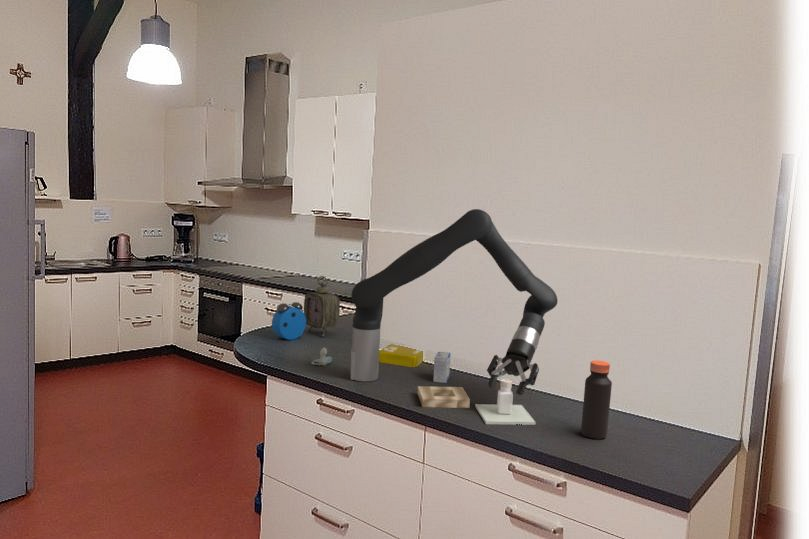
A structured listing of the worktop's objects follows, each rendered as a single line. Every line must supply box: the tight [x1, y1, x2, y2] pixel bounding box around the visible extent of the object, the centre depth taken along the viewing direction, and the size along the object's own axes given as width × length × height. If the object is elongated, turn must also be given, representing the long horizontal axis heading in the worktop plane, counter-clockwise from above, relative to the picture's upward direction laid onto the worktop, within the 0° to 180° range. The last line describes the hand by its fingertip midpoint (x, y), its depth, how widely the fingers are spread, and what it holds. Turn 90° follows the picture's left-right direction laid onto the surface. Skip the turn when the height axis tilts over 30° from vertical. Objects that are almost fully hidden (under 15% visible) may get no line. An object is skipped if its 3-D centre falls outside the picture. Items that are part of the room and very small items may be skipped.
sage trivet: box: [475, 403, 537, 426], centre depth 184 cm, size 14×14×1 cm
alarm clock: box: [271, 301, 307, 341], centre depth 260 cm, size 13×6×15 cm, turn 133°
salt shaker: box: [496, 378, 514, 414], centre depth 183 cm, size 4×4×10 cm
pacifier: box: [311, 347, 333, 366], centre depth 227 cm, size 7×6×6 cm
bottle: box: [580, 360, 613, 440], centre depth 171 cm, size 7×7×20 cm
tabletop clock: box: [303, 275, 341, 338], centre depth 271 cm, size 14×9×25 cm, turn 43°
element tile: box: [379, 343, 424, 368], centre depth 238 cm, size 15×15×5 cm
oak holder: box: [417, 385, 471, 409], centre depth 194 cm, size 14×12×2 cm
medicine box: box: [432, 351, 451, 384], centre depth 215 cm, size 8×4×9 cm, turn 168°
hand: (504, 391), depth 182 cm, fingers open, 8 cm apart
